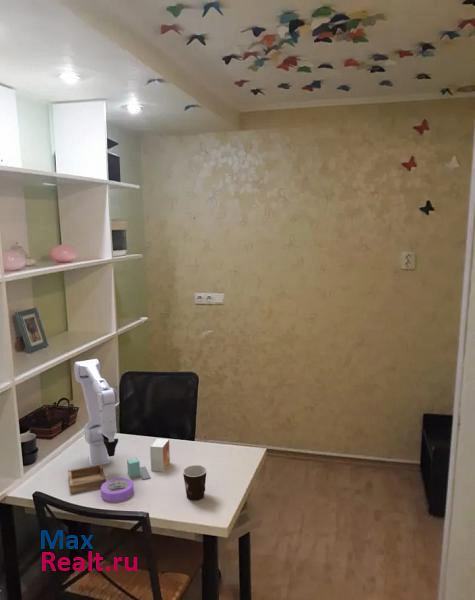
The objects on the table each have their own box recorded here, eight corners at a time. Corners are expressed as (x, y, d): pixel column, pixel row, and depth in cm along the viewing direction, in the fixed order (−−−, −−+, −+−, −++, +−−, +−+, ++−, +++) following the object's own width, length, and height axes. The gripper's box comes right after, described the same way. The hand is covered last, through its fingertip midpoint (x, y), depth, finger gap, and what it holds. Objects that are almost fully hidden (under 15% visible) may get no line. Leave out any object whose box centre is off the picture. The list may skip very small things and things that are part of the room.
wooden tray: (68, 478, 190) (68, 470, 190) (102, 472, 195) (101, 464, 195) (70, 495, 178) (70, 486, 178) (106, 487, 183) (106, 479, 183)
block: (127, 473, 193) (127, 459, 192) (137, 471, 195) (136, 457, 194) (130, 478, 189) (129, 463, 189) (140, 475, 191) (139, 461, 190)
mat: (120, 472, 195) (120, 471, 195) (145, 467, 199) (145, 466, 199) (125, 483, 186) (124, 482, 186) (150, 478, 190) (150, 477, 190)
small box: (163, 471, 195) (162, 447, 193) (150, 470, 196) (149, 446, 194) (170, 462, 203) (169, 439, 201) (157, 461, 204) (156, 438, 202)
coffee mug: (184, 490, 180) (183, 465, 179) (206, 489, 181) (206, 464, 180) (183, 508, 169) (182, 481, 167) (207, 506, 170) (206, 480, 168)
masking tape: (112, 484, 186) (112, 475, 185) (139, 489, 182) (138, 479, 182) (94, 500, 175) (94, 490, 174) (122, 506, 171) (122, 496, 171)
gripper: (95, 414, 195) (97, 446, 196) (100, 427, 181) (101, 461, 183) (113, 412, 197) (115, 443, 199) (118, 424, 184) (120, 458, 186)
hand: (110, 451), depth 191 cm, fingers open, 7 cm apart
